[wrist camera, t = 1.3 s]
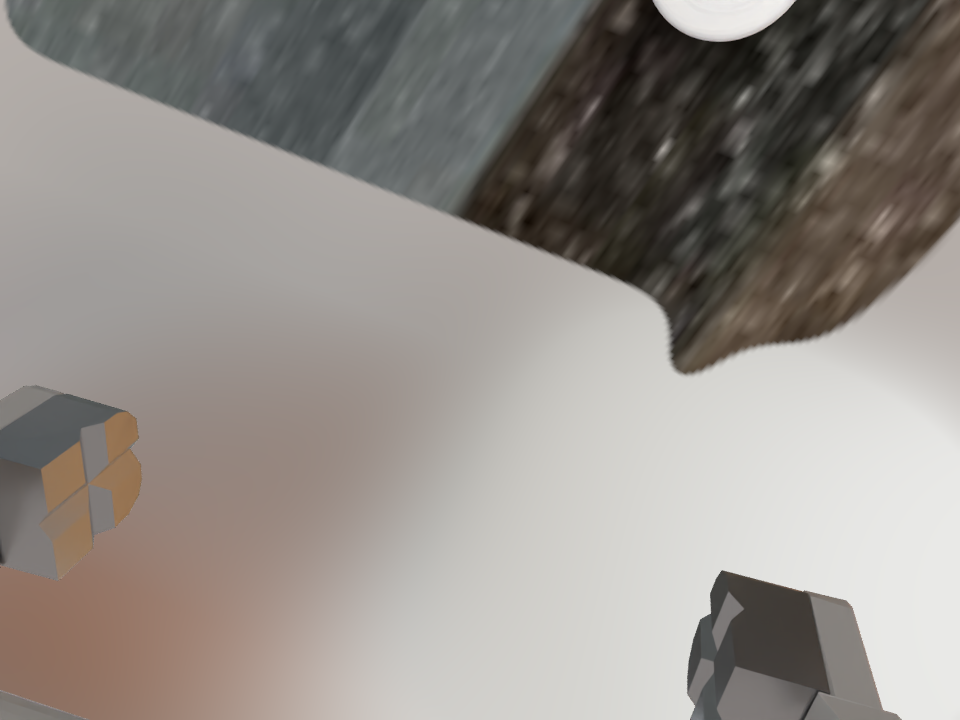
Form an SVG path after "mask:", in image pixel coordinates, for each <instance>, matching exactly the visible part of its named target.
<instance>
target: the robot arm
mask: <svg viewBox="0 0 960 720" xmlns="http://www.w3.org/2000/svg"><path fill="white" fill-rule="evenodd" d="M138 439H139V435H138V428H137V420H136V418H135V417H134V416H133V415H131V414H130V413H129V412H127V411H124V410H121V409H118V408H114V407H111V406H107V405H104V404H101V403H97V402H94V401H90V400H87V399H84V398H80V397H77V396H73V395H70V394H64V393H61V392H58V391H55V390H51V389H47V388H44V387H40V386H23V387H22V388H20V389H18V390H17V391H15V392H13V393H12V394H10V395H8V396H6V397H5V398H3V399H1V400H0V565H2V566H6V567H9V568H13V569H16V570H20V571H24V572H27V573H31V574H35V575H38V576H43V577H46V578H49V579H53V580H57V581H59V580H60V579H61V578H62V577H63V576H64V575H65V574H66V573H67V572H68V571H69V570H71V569H72V568H73V567H74V566H75V565H76V564H77V563H78V562H79V561H80V560H81V559H82V558H83V557H84V556H86V554H88V553H89V552H90V551H91V550H92V549H93V543H94V535H95V534H98V533H101V532H104V531H107V530H109V529H112V528H115V527H116V526H117V525H118V524H119V523H120V522H121V521H122V520H123V519H124V518H125V517H126V516H127V515H128V514H129V513H130V511H131V509H132V507H133V505H134V503H135V502H136V499H137V498H138V496H139V492H140V487H141V481H142V472H141V464H140V462H139V461H138V459H137V458H136V457H135V455H134V454H133V452H132V451H131V449H130V448H131V447H132V446H133V445H134V444H135V442H136V441H137V440H138ZM710 599H711V614H709V615H707V616H706V617H704V618H702V619H701V620H700V622H699V625H698V627H697V630H696V633H695V636H694V639H693V643H692V648H691V653H690V658H689V664H688V676H687V679H688V680H687V694H688V696H689V697H690V699H691V700H692V701H693V703H694V705H695V708H694V711H693V714H692V716H691V718H690V720H901V719H900V717H898V715H897V714H894V713H891V712H887V711H884V710H883V708H882V705H881V702H880V698H879V695H878V692H877V688H876V685H875V682H874V679H873V675H872V671H871V668H870V665H869V661H868V658H867V655H866V651H865V648H864V645H863V641H862V638H861V634H860V631H859V628H858V624H857V621H856V618H855V614H854V611H853V608H852V606H851V605H850V604H849V603H848V602H847V601H846V600H841V599H837V598H833V597H829V596H825V595H820V594H817V593H813V592H808V591H803V592H802V591H799V590H796V589H792V588H788V587H784V586H780V585H776V584H773V583H769V582H765V581H761V580H757V579H753V578H750V577H745V576H742V575H738V574H734V573H730V572H727V571H723V570H722V571H721V572H720V574H719V575H718V577H717V578H716V580H715V583H714V585H713V588H712V590H711V593H710ZM0 720H88V719H85V718H82V717H79V716H76V715H73V714H70V713H67V712H64V711H61V710H58V709H55V708H52V707H49V706H46V705H43V704H40V703H37V702H34V701H31V700H28V699H25V698H22V697H19V696H17V695H14V694H11V693H8V692H4V691H2V690H0Z"/></svg>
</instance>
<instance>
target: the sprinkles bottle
mask: <svg viewBox="0 0 960 720" xmlns="http://www.w3.org/2000/svg"><path fill="white" fill-rule="evenodd" d="M795 1H796V0H653V2H654V4H655V6H656V7H657V9H658V10H659V12H660V13H661V15H662V16H663V17H664V18H665V19H666V20H667V21H668V22H669V23H670V24H671V25H672V26H674V27H675V28H676V29H678V30H679V31H681V32H683V33H685V34H687V35H689V36H691V37H694V38H697V39H701V40H706V41H716V42H722V41H732V40H737V39H741V38H744V37H747V36H750V35H753V34H755V33H757V32H759V31H761V30H763V29H764V28H766V27H767V26H769V25H770V24H772V23H773V22H775V21H776V20H777V19H778V18H779V17H780V16H782V15H783V14H784V13H785V12H786V11H787V10H788V9H789V8H790V6H791V5H792V4H793V3H794V2H795Z"/></svg>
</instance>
